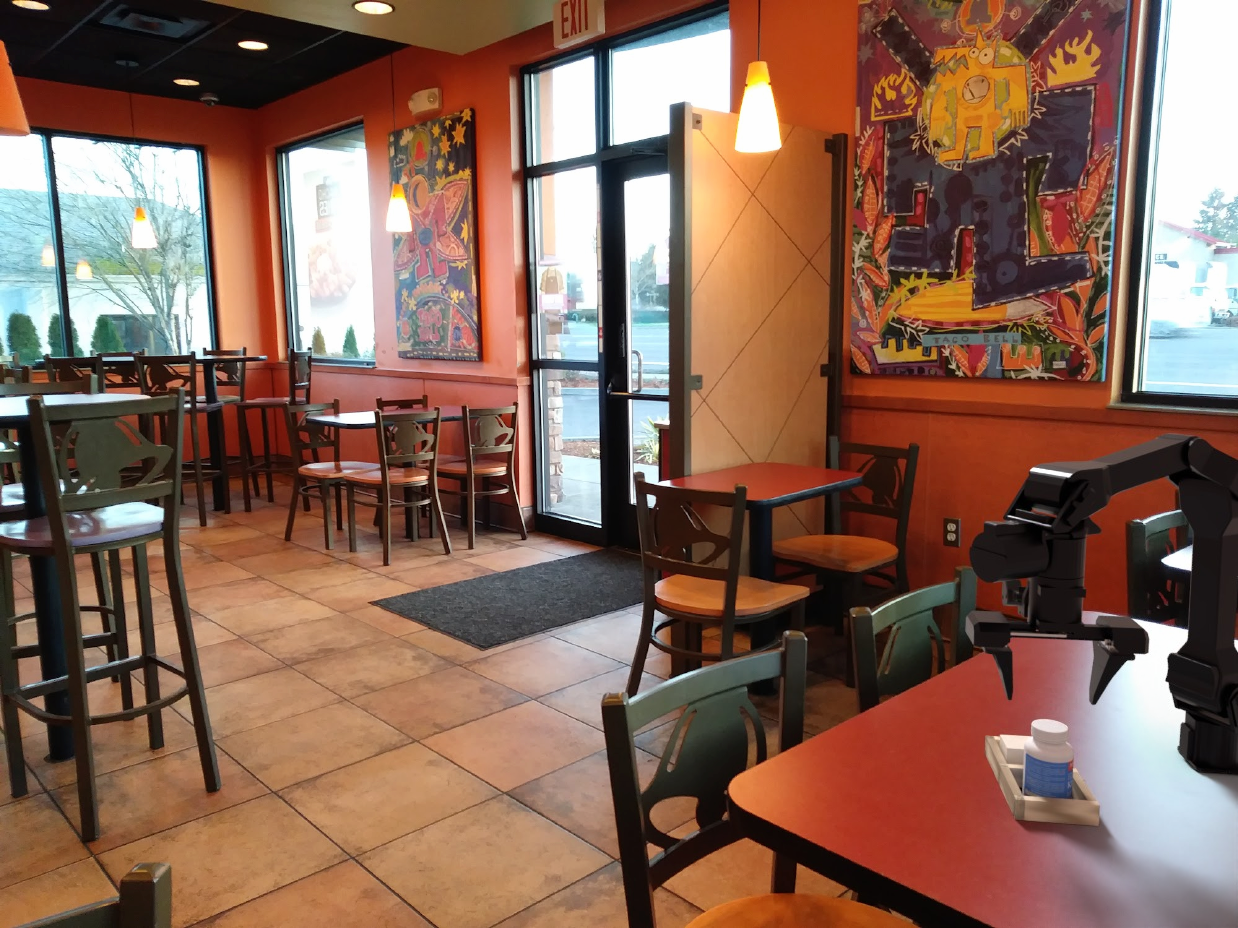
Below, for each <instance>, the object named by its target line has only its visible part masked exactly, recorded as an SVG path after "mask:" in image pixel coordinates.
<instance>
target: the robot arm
mask: <svg viewBox="0 0 1238 928" xmlns="http://www.w3.org/2000/svg"><path fill="white" fill-rule="evenodd" d="M1163 478H1165V479H1166V480H1167V481H1168V482H1170V484H1171V485H1173V486H1175V487H1176V488H1177V490H1178V495H1179V496H1178V497H1179V509H1180V511H1181V513H1182V514H1183V516H1184V517H1185V519H1186V521H1187V523H1188V524H1189V526H1190V528H1191V530H1192V548H1191V549H1192V550H1191V551H1192V552H1191V566H1190V567H1191V568H1190V569H1191V572H1190V590H1189V605H1188V607H1189V608H1188V625H1187V639H1186V641H1185V642H1184V644H1183V645H1182V646H1181V647H1180V648H1179V649H1178V651H1177V652H1170V653H1169V654H1168V656H1167V659H1166V661H1167V673H1166V677H1165V680H1164V681H1165V682H1166V683H1168V691H1169V693H1170V694H1171V696H1172V697H1171V698H1172V701H1173V705H1174V708H1175V709H1177V710H1182V711H1184V712H1185V714H1184V715H1185V716H1184V717H1185V718H1184V722H1181V723H1180V727H1179V728H1180V729H1179V743H1178V746H1176V747H1177V748H1176V749H1177V751H1178V752H1179V754H1181V756H1182V757H1183V758H1184V759H1185V760H1186V761H1187V762H1188V763H1189V764H1190V766H1191V767H1192V768H1193V769H1194V770H1196V771H1198V772H1204V773H1205V772H1206V773H1219V774H1235V775H1238V649H1237V648H1236V646H1235V639H1236V638H1235V637H1236V623H1237V622H1236V621H1237V620H1236V618H1237V606H1238V603H1237V602H1238V459H1237V458H1235V457H1233V456H1231V455H1229V454H1226V453H1225V452H1223V451H1222V450H1219V449H1217V448H1215V447H1214V446H1213V445H1212V444H1211V443H1209V441H1207V440H1206V439H1204V438H1201V437H1200V436H1197V435H1193V434H1192V435H1191V434H1183V433H1171V432H1169V433H1164V434H1160V435H1159V436H1156V437H1155V438H1154V439H1152V440H1148V441H1145V442H1143V443H1139V444H1136V445H1134V446H1131V447H1127V448H1124V449H1121V450H1117V451H1115V452H1112V453H1109V454H1105V455H1103V456H1100V457H1097V458H1094V459H1091V460H1082V461H1081V460H1080V461H1076V460H1075V461H1054V462H1044V463H1039V464H1037V465H1035V466H1033V467H1032V468H1031V469H1029V471H1028V476H1027V478H1026V479H1025V480H1024V481H1023V483H1022V486H1020V489H1019V490H1018V491H1017V493H1016V495H1015V497H1014V498H1013V500H1012V502H1011V503H1010V504H1009V506H1008V508H1007V509H1006V511H1005V513H1004V515H1003V516H1002V520H1003V521H995V520H989V521H987V520H986V521H985V522H983V530H982V532H980V533H978V534H977V535H976V536H975V537H974V539H973V541H972V543H971V546H970V547H969V552H968V555H969V562H970V567H971V568H972V570H973V572H974V574H975V575H976V576H977V577H978V578H979V579H980V580H981V581H983V582H985V583H988V584H994V583H1001V582H1002V586H1001V587H1002V588H1001V601H1002V605H1003V606H1004V607H1006V606H1008V607H1017V614H1018V615H1021V617H1023V619H1024V618H1025V619H1027V621H1023V620H1022V621H1018V620H1016V621H1015V620H1008V619H1007V618H1006V617H1005V616H1004V614H1003V613H1002V611H991V610H990V611H987V610H986V611H984V610H971V611H970V612H969V613H968V614H967V615H966V617H965V632H966V635H967V636H968V638H969V640H970V642H971V643H972V645H973V646H975V647H978V648H981V649H982V650H983V652H984V653H985V654H987V655H992V657H993V659H994V661H995V665H996V668H997V670H998V673H999V677H1000V681H1001V683H1002V687H1003V690H1004V694H1005V697H1006V698H1007V700H1008V701H1012V699H1013V696H1014V695H1013V694H1014V667H1013V666H1014V661H1013V659H1014V658H1013V655H1014V654H1013V650H1012V648H1010V646H1009V644H1010V643H1011V638H1013V639H1014V638H1016V639H1017V638H1018V639H1021V638H1022V639H1041V640H1043V639H1044V640H1061V641H1063V640H1064V641H1065V640H1067V641H1086V642H1088V641H1091V642H1092V649H1093V650H1092V651H1093V659H1092V660H1093V661H1092V665H1091V673H1090V681H1089V687H1088V693H1089V694H1088V695H1089V697H1088V699H1089V701H1088V702H1089V703H1090V705H1092V706H1095V705H1097V703H1098V701H1099V700H1100V698H1101V697H1102V695H1103V693H1104V692H1105V691H1106V689H1107V687H1108V686H1109V684H1110V683H1111V681H1112V679H1113V678H1114V677H1115V676H1116V675H1117V673H1118V672H1119V671H1120V670H1121V669H1122V667H1123V666H1124V665H1125V664H1126V663H1127V662H1133V661H1135V660H1136V655H1146V654H1149V651H1150V636H1149V633H1148V632H1147V630H1146V629H1145V628H1144V627H1142V626H1141V625H1140V624H1139V623H1138V622H1136V621H1135V620H1134V619H1133V618H1131V616H1126V615H1125V616H1124V615H1121V616H1120V615H1098V616H1097V618H1096V620H1095V624H1094V623H1084V622H1083V606H1084V599H1086V598H1087V588H1086V587H1085V573H1086V572H1085V571H1086V567H1085V566H1086V552H1087V551H1086V549H1087V536H1092V535H1093V536H1094V535H1099V534H1101V533H1102V531H1103V529H1102V528H1101V527H1100V526H1099V525H1098V524H1097V523H1095V522H1094V521H1093V520H1092V518H1091V516H1093V515H1095V513H1098V512H1099V511H1101V510H1102V509H1103V510H1104V508H1106V507H1107V506H1108V505H1109V503H1110V500H1111V498H1112V497H1114V496H1116V495H1117V494H1120V493H1123V492H1125V491H1126V492H1127V491H1128V490H1131V489H1134V488H1137V487H1140V486H1143V485H1145V484H1148V483H1151V482H1154V481H1157V480H1159V479H1163ZM1023 579H1026V586H1023V585H1022V581H1021V580H1023Z"/></svg>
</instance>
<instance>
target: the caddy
mask: <svg viewBox="0 0 1238 928" xmlns="http://www.w3.org/2000/svg"><path fill="white" fill-rule="evenodd" d="M984 739H985V740H984V741H985V744H984V755H985V756H986V759H987V762H988V763H989V766H990V767H991V770H992V772H993V773H994V777H995V779H996V781H997V783H998V785H999V787H1000V789H1001V792H1002V794H1003V796H1004V798H1005V800H1006V803H1007V805H1008V807H1009V809H1010V811H1011V814H1012V815H1013V818H1014V820H1017V821H1028V822H1029V821H1030V822H1041V823H1054V824H1068V825H1069V824H1070V825H1082V826H1094V827H1095V826H1096V827H1100V811H1101V810H1100V809H1101V805H1100V804H1099V802H1098V800H1097V799H1096V797H1095V796H1094V794H1093V793H1092V791H1091V790H1090V788H1089V787H1088V785H1087V783H1086V782H1085V780H1084V779H1083V777H1082V776H1081V775H1080V772H1079V771H1078V770H1077V768H1074V767H1073V785H1072V799H1061V798H1047V797H1033V796H1023V795H1022V791H1021V789H1020V788H1022V789H1023V766H1024V765H1015V764H1007V763H1006V761H1005V759H1004V757H1003V755H1002V753H1001V751H1000V749H999V748H1000V736H996V735H995V736H993V735H985V738H984Z"/></svg>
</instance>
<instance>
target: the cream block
mask: <svg viewBox="0 0 1238 928" xmlns="http://www.w3.org/2000/svg"><path fill="white" fill-rule="evenodd" d="M999 737H1000V748H999V749H1000V751H1001V753H1002V755H1003V757H1004V759H1005V761H1006V763H1007V764H1015V765H1024V744H1025V742H1026V740H1027V739H1029V738H1030V737H1032V735H1031V736H1030V735H1029V736H1028V735H1014V734H1012V735H1011V734H999Z"/></svg>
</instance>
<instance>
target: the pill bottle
mask: <svg viewBox="0 0 1238 928" xmlns="http://www.w3.org/2000/svg"><path fill="white" fill-rule="evenodd" d="M1030 725H1031V728H1030V733H1031V736H1032V737H1030V738H1029V739H1027V740H1026V742H1025V744H1024V766H1023V788H1022V791H1021V793H1022V795H1023V796H1033V797H1047V798H1061V799H1073V797H1072V785H1073V768H1074V764H1075V763H1074V761H1075V760H1074V759H1075V754H1074V753H1075V751H1074V748H1073V746H1072V745H1071V744H1070V743H1068V740H1069V727H1068V726H1067V725H1066V724H1064V723H1063V722H1060V721H1057V720H1054V719H1049V718H1048V719H1047V718H1046V719H1045V718H1039V719H1035V720H1033V721H1032V722H1031V724H1030Z"/></svg>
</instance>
